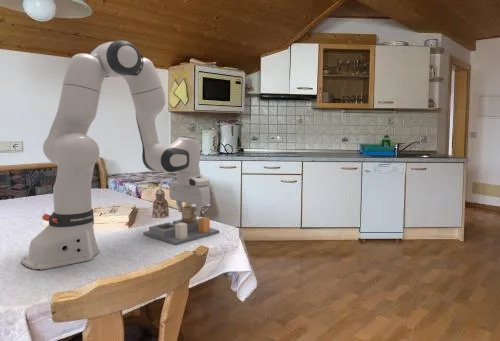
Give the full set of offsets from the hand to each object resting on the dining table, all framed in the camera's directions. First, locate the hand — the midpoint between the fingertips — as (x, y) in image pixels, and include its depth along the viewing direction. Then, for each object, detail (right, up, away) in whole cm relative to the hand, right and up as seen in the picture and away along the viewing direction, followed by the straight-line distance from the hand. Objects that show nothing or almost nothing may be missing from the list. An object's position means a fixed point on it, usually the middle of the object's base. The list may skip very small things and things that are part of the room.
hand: (189, 213), depth 165 cm
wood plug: (0, -5, +1) cm, 5 cm away
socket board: (-2, -7, -5) cm, 9 cm away
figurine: (-16, -4, +23) cm, 29 cm away
